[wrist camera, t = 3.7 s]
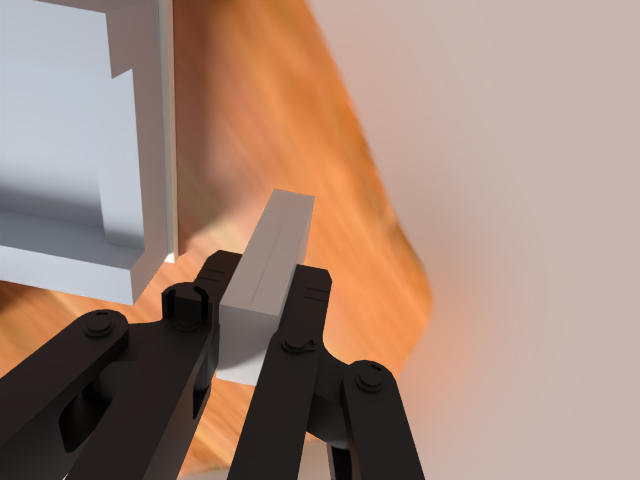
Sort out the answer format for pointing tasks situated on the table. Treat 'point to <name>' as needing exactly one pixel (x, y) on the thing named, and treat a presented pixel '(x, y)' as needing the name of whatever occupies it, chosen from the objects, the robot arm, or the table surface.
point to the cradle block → (81, 146)
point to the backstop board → (169, 124)
